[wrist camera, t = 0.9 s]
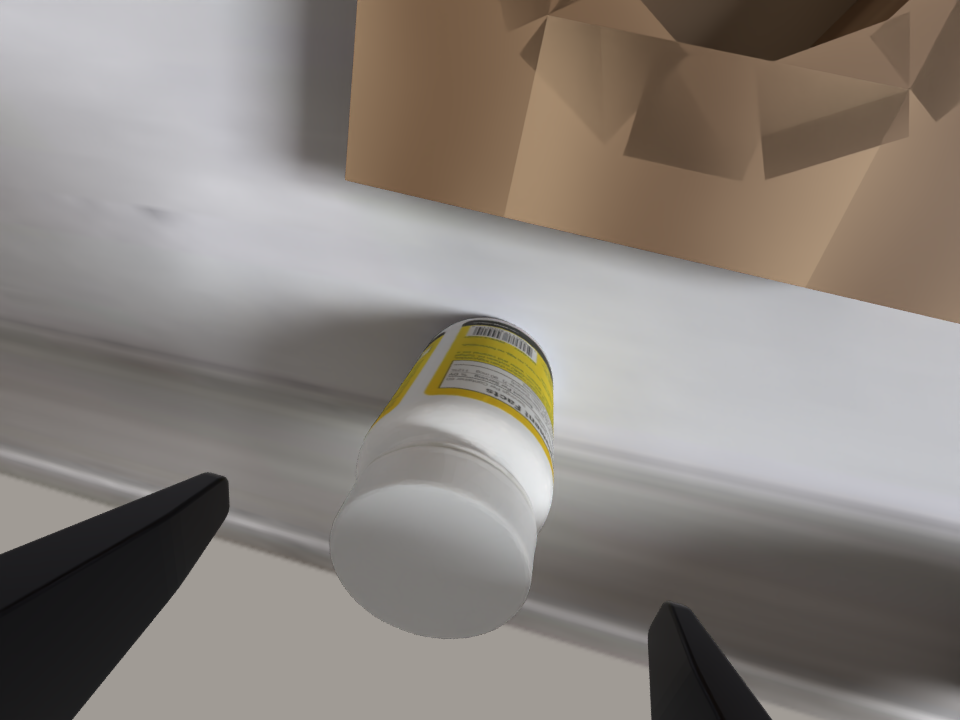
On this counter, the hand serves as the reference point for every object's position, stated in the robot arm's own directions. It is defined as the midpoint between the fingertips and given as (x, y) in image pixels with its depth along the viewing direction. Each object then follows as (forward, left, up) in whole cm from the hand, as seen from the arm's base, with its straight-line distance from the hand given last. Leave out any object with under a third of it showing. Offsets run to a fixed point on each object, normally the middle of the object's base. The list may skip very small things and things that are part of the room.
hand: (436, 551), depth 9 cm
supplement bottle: (0, 0, -8) cm, 8 cm away
